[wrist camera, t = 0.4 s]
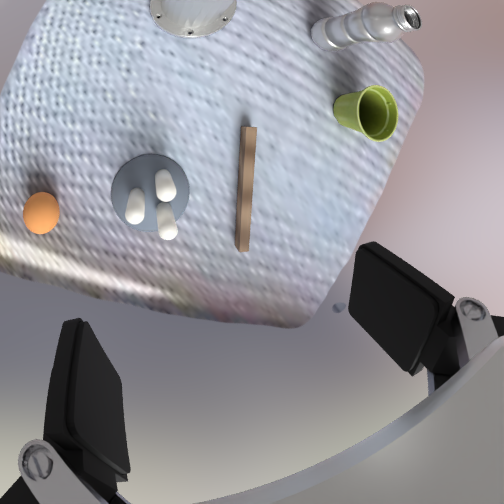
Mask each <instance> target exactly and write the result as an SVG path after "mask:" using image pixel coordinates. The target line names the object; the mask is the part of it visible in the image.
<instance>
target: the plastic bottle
mask: <svg viewBox="0 0 504 504" xmlns="http://www.w3.org/2000/svg"><path fill="white" fill-rule="evenodd" d="M421 26H422V21H421V17H420V15H419V13H418V12H417V11H416V9H414V8H413V7H412V6H410V5H404V6H395V7H393V6H390V5H388V4H385V3H380V2H373V3H370V4H367V5H365V6H363V7H361V8H359V9H358V10H356V11H353V12H350V13H348V14H345V15H341V16H336V17H327V18H323V19H320V20H319V21H317V22H316V23H315V24H314V25H313V26H312V29H311V36H312V39H313V41H314V43H315V44H316V45H317V46H318V47H320V48H321V49H323V50H325V51H334V52H335V51H340V50H343V49H345V48H347V47H349V46H352V45H355V44H359V43H369V42H378V43H392V42H395V41H397V40H398V39H400V38H401V37H402V35H403V34H404V32H411V31H415V30H419V29H420V28H421Z"/></svg>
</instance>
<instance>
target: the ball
mask: <svg viewBox="0 0 504 504" xmlns="http://www.w3.org/2000/svg"><path fill="white" fill-rule="evenodd" d="M23 218H24V222H25V224H26V226H27V227H28V229H29V230H31V231H32V232H34V233H37V234H44V233H47V232H49V231H50V230H52V229H53V228H54V227H55V225H56V223H57V221H58V219H59V205H58V202H57V201H56V199H55V198H54V197H53V196H52V195H51V194H49V193H46V192H39V193H36V194H34V195H32V196H31V197H30V198H29V199H28V200H27V202H26V204H25V206H24V210H23Z"/></svg>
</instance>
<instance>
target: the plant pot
mask: <svg viewBox="0 0 504 504" xmlns="http://www.w3.org/2000/svg"><path fill="white" fill-rule="evenodd" d="M333 111H334V116H335V117H336V119H337V120H338V122H339V123H340V124H341V125H343V126H345V127H348V128H351V129H354V130H356V131H359V132H362V133H363V134H364V135H365V136H366V137H367V138H369V139H370V140H373V141H376V142H382V141H385V140H387V139H388V138H390V137H391V136H392V134H393V133H394V131H395V129H396V126H397V122H398V108H397V104H396V101H395V99H394V97H393V95H392V94H391V93H390V92H389V91H388V90H387V89H386V88H384V87H382V86H379V85H372V86H369V87H367V88H365V89H364V90H362V91H359V92H354V93H349V94H344V95H341V96H340V97H339V98H338V99H336V101H335V103H334V108H333Z"/></svg>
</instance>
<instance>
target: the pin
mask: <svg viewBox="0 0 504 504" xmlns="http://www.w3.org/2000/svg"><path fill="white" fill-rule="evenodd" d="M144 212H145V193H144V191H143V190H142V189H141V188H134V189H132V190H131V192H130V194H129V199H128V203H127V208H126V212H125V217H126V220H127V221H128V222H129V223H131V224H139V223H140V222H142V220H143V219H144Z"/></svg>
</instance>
